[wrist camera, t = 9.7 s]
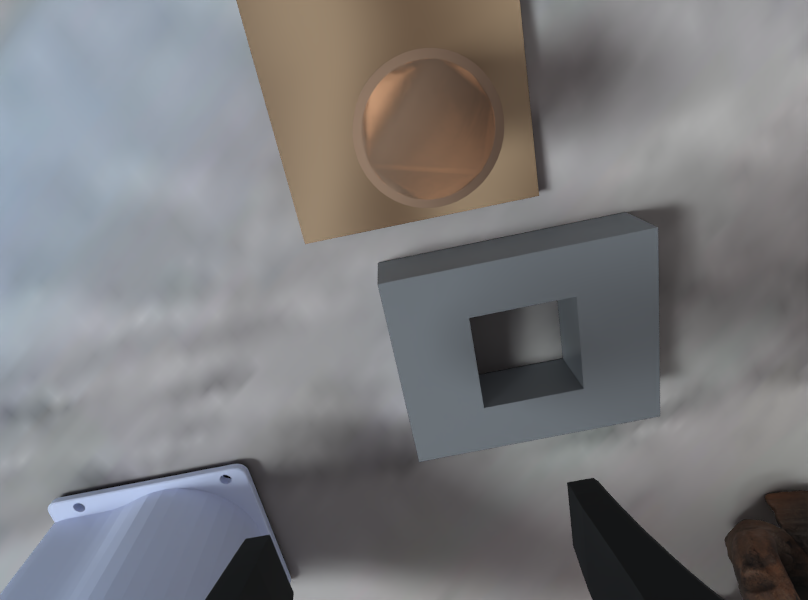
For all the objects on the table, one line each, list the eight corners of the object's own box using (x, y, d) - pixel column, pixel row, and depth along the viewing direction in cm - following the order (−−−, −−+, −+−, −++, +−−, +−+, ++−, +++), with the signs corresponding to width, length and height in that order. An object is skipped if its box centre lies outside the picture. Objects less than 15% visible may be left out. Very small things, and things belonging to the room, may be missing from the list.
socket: (415, 425, 23) (419, 461, 21) (378, 262, 20) (377, 284, 18) (632, 384, 23) (660, 415, 21) (626, 212, 20) (658, 227, 18)
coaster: (307, 239, 20) (305, 244, 19) (233, -23, 17) (228, -27, 16) (534, 192, 20) (539, 195, 19) (506, -85, 16) (510, -91, 16)
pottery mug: (897, 510, 27) (1002, 706, 22) (720, 540, 33) (771, 700, 28) (804, 453, 22) (918, 698, 17) (611, 501, 28) (651, 693, 23)
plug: (368, 171, 18) (371, 221, 12) (346, 70, 17) (335, 66, 11) (460, 151, 18) (512, 191, 12) (445, 48, 17) (494, 32, 11)
